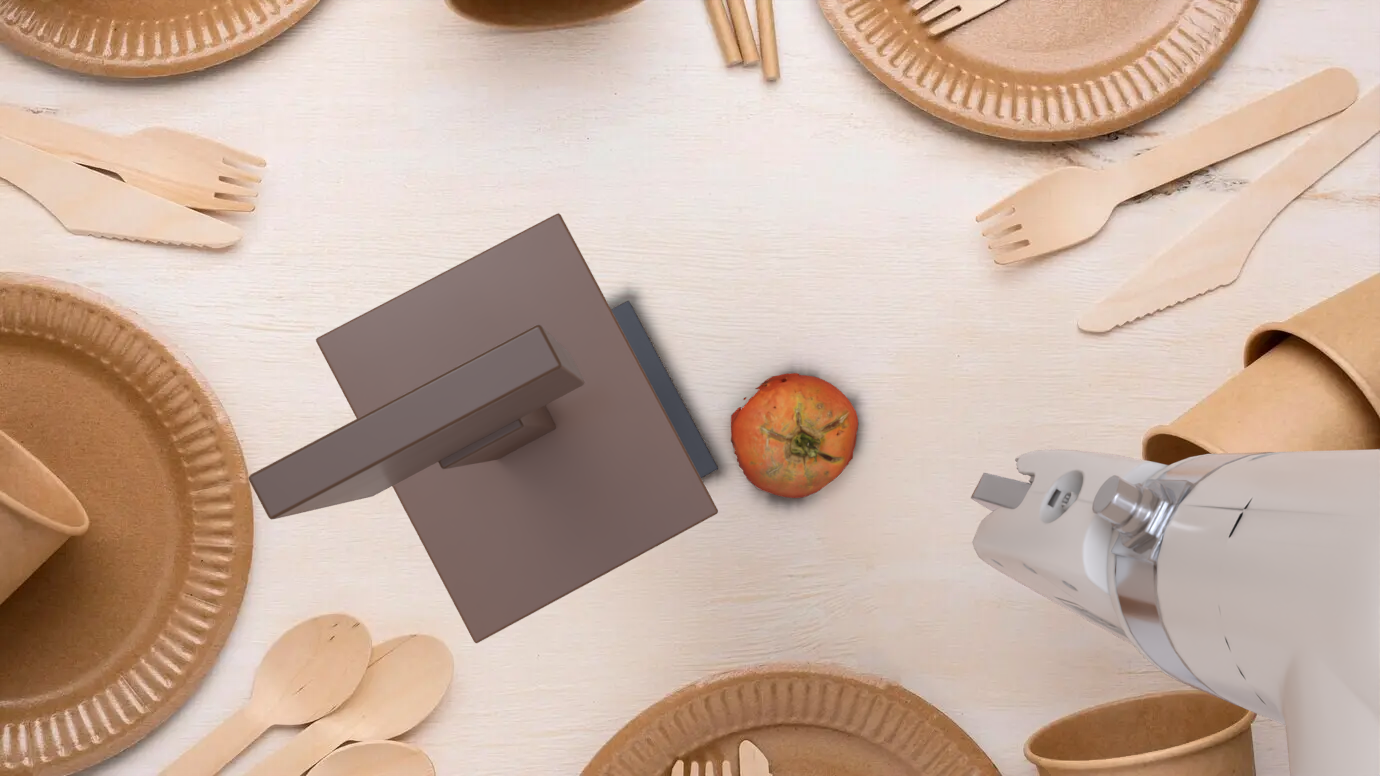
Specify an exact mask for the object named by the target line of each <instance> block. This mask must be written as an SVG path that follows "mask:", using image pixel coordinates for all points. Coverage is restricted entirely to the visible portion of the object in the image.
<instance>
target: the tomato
mask: <svg viewBox="0 0 1380 776" xmlns="http://www.w3.org/2000/svg"><path fill="white" fill-rule="evenodd" d="M755 390H757V391H756V392H755V393H754V394H753V395H752V396H751V397H750V398H749V399H748V400H747V401H746V403H745V405H744V406H740V407H738V408H737V409H736V410H734V412H733V413H732V414H731V415H730V435H731V436H730V442H731V445H732V448H733V449H734V452H733V453H734V455H735V456H736V461H737V463H738V467H739V468H740V469H741V470H742V473H743V475H744V476H745V478H746V480H748V481H749V483H751V484H752V485H753V486H754V487H755V488H757V489H759V490H761V491H762V492H765V493H767V494H768V493H769V494H771V495H775V496H778V497H782V498H788V499H801V498H802V499H803V498H807V497H809V496H811V495H814V494H816V493H818V492H820V491H821V490H822V489H823V488H825V487H826V486H828V484H830V483H831V482H833V481H834V480H835V479H836V478H838V476H840V475H841V474H843V473H842V472H843V471H844V470H845V469H846V468H847V466H848V465H849V464H850V462H851V461H852V460H853V459H854V451H855V449H856V445H857V434H858V430H859V417H858V413H857V411H856V409H855V408H854V405H853V404H852V402H851V401H850V399H849V398H848V397H847V396H846V395H845V394H844V392H842V391H841V390H840V389H839V388H837V387H836V386H835V385H834V384H833V383H830V382H828V381H827V380H825V379H822V378H820V377H817V376H814V375H808V374H807V375H806V374H800V373H798V372H793V373H792V372H791V373H782V374H779V375H772V376H771V377H769V378H767V379H766V380H764V381H763V382H762V383H761V384H760V385H759V386H757V387H755ZM746 399H747V396H745V397H743V401H745V400H746Z"/></svg>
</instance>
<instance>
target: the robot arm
mask: <svg viewBox="0 0 1380 776" xmlns="http://www.w3.org/2000/svg"><path fill="white" fill-rule="evenodd" d="M1014 462H1015V466H1016V470H1017V472H1018V473H1020V474H1021V475H1022V476H1029V477H1030V478H1029V480H1028V482H1026V481H1022V480H1018V479H1013V478H1009V477H1005V476H1000V475H996V474H992V473H988V472H983V473H982V475H981V477H980V479H979V481H978V483H977V484H976V486H975V488H974V490H973V492H972V493H971V496H970V499H971V500H972V501H974V502H976V503H977V504H979V505H981V506H982V507H984V508H985V509H987V510H989V511H990V513H988V514H987V515H986V516H985V517H983V518H982V519H981V520H980V522H979V524H978V526H977V528H976V531H975V534H974V536H973V538H972V542H971V543H972V547H973V550H974V552H975V554H976V555H977V557H978V559H980V560H981V561H982V562H984V563H985V564H987V565H988V566H990V567H991V568H993V569H995V570H997V571H998V572H1000V573H1001V574H1003V575H1004V576H1006V577H1008V578H1010V579H1012V580H1014V581H1015V582H1017V583H1018V584H1021V585H1022V586H1024V587H1026V588H1028V589H1029V590H1031V591H1033V592H1035V593H1037V594H1039V595H1040V596H1042V597H1044V598H1046V599H1047V600H1050V601H1051V602H1053V603H1055V604H1057V605H1058V606H1059V607H1062V608H1064V609H1065V610H1067V611H1069V612H1071V613H1072V614H1075V615H1076V616H1078V617H1080V618H1081V619H1083V620H1085V621H1087V622H1089V623H1091V624H1092V625H1094V626H1096V627H1099V628H1100V629H1102V630H1104V631H1106V632H1108V633H1109V634H1111V635H1113V636H1115V637H1116V638H1118V639H1121V640H1123V641H1124V642H1126V643H1128V644H1129V645H1132V646H1133V647H1134V648H1135V649H1136V650H1137V651H1138V653H1139V654H1140V655H1141V656H1142V657H1143V658H1145V660H1146V661H1147V662H1149V663H1150V664H1151V665H1152V666H1153V667H1155V668H1156V669H1157V670H1158V671H1160V672H1161V673H1162V674H1164V675H1166V676H1168V677H1169V678H1171V679H1173V680H1175V681H1177V682H1180V683H1181V684H1184V685H1187V686H1189V687H1191V688H1193V689H1196V690H1198V691H1200V692H1203V693H1206V694H1208V695H1210V696H1213V697H1215V698H1217V699H1220V700H1223V701H1225V702H1227V703H1229V704H1232V705H1234V706H1237V707H1240V708H1243V709H1245V710H1247V711H1250V712H1251V713H1254V714H1257V715H1259V716H1261V717H1263V718H1266V719H1267V720H1271V721H1274V722H1276V723H1278V724H1281V725H1282V726H1285V735H1286V736H1285V737H1286V747H1287V755H1288V757H1287V758H1288V768H1289V776H1380V448H1377V449H1376V448H1375V449H1371V448H1370V449H1340V450H1336V449H1335V450H1334V449H1333V450H1332V449H1331V450H1295V451H1293V450H1292V451H1290V450H1289V451H1259V452H1258V451H1256V452H1225V453H1224V452H1221V453H1206V454H1205V453H1204V454H1200V455H1194V456H1189V457H1186V458H1184V459H1181V460H1178V461H1176V462H1173V463H1171V464H1165V463H1160V462H1157V461H1150V460H1146V459H1140V458H1135V457H1131V456H1130V457H1129V456H1124V455H1117V454H1113V453H1105V452H1097V451H1091V450H1080V449H1079V450H1078V449H1063V448H1061V449H1060V448H1056V449H1055V448H1054V449H1052V448H1051V449H1049V448H1047V449H1046V448H1045V449H1037V450H1033V451H1028V452H1026V453H1023V454H1021V455H1019V456H1017V457H1015V459H1014Z"/></svg>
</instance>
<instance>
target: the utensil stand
mask: <svg viewBox="0 0 1380 776" xmlns="http://www.w3.org/2000/svg"><path fill="white" fill-rule="evenodd" d="M315 342H316V344H317V346H318V348H319V350H320V351H321V354H322V356H323V357H324V359H325V362H326V363H327V365H328V367H329V369H330V371H331V372H332V374H333V377H334V378H335V380H336V382H337V384H338V386H339V388H340V390H341V392H342V393H343V395H344V397H345V399H346V401H347V403H348V406H349V407H350V409H351V410H352V412H353V414H354V416H355V418H356V419H353V420H352V421H350V422H348V423H345V424H344V425H341V426H340V427H338V428H337V429H334V430H333V431H331V432H329V433H327V434H325V435H323V436H321V437H319V438H317V439H315V440H314V441H312V442H310V443H308V444H306V445H304V446H302V447H301V448H298V449H297V450H295V451H293V452H291V453H289V454H287V455H285V456H283V457H281V458H279V459H277V460H275V461H274V462H272V463H270V464H268V465H266V466H263V467H262V468H260V469H258V470H256V471H255V472H253V473H251V474H250V475H249V476H248V481H249V483H250V485H251V487H252V489H253V490H254V492H255V495H256V496H257V498H258V500H259V502H260V504H261V505H262V508H263V510H264V512H265V514H266V516H267V517H268V519H270V520H277V519H281V518H285V517H286V518H287V517H290V516H294V515H298V514H304V513H306V512H311V511H315V510H320V509H326V508H329V507H332V506H338V505H341V504H346V503H349V502H350V503H351V502H355V501H359V500H364V499H369V498H372V497H375V496H376V495H378V494H380V493H382V492H384V491H386V490H388V489H390V488H391V487H392V489H393V490H394V492H395V495H396V496H397V498H398V500H399V502H400V504H401V506H402V507H403V509H404V511H405V513H406V515H407V517H408V519H409V521H410V523H411V525H412V527H413V528H414V530H415V532H416V534H417V536H418V538H419V540H420V542H421V544H422V546H423V548H424V550H425V551H426V553H427V555H428V557H429V559H430V561H431V563H432V565H433V567H434V568H435V570H436V572H437V574H438V576H439V578H440V580H441V582H442V583H443V585H444V588H445V590H446V591H447V593H448V595H449V597H450V599H451V601H452V603H453V604H454V606H455V609H456V611H457V612H458V614H459V616H460V618H461V620H462V622H463V624H464V625H465V627H466V629H467V631H468V633H469V635H470V637H471V639H472V641H473V642H474V643H475V644H479V643H480V642H483V641H485V640H487V639H488V638H490V637H492V636H494V635H495V634H497V633H499V632H500V631H503V630H505V629H507V628H508V627H510V626H512V625H514V624H516V623H517V622H520V621H521V620H523V619H525V618H527V617H529V616H531V615H532V614H534V613H536V612H539V611H540V610H541V609H544V608H545V607H547V606H549V605H551V604H553V603H554V602H557V601H558V600H560V599H562V598H564V597H566V596H567V595H569V594H572V593H573V592H575V591H577V590H579V589H581V588H583V587H584V586H586V585H588V584H590V583H592V582H593V581H595V580H597V579H599V578H601V577H602V576H605V575H606V574H608V573H610V572H612V571H614V570H616V569H618V568H619V567H622V566H624V565H625V564H627V563H630V562H631V561H632V560H634V559H636V558H638V557H640V556H641V555H644V554H645V553H647V552H649V551H651V550H653V549H655V548H657V547H658V546H661V545H662V544H664V543H665V542H667V541H670V540H671V539H673V538H675V537H677V536H679V535H681V534H682V533H684V532H687V531H688V530H690V529H692V528H694V527H695V526H697V525H699V524H701V523H703V522H704V521H706V520H708V519H710V518H712V517H714V516H716V515H717V514H718V513H719V510H718V507H717V506H716V503H715V502H714V500H713V498H712V497H711V494H710V492H709V491H708V489H707V486H706V484H705V483H704V481H703V478H704V477H706V476H708V475H710V474H712V473H713V472H715V471H717V470H718V469H719V467H718V465H717V463H716V461H715V459H714V457H713V455H712V454H711V452H710V450H709V448H708V446H707V444H706V443H705V441H704V438H703V437H702V434H701V433H700V431H699V429H698V427H697V426H696V423H695V421H694V419H693V418H692V416H691V414H690V412H689V411H688V408H687V407H686V405H685V403H684V401H683V400H682V397H681V395H680V394H679V392H678V390H677V388H676V386H675V385H674V381H672V379H671V377H670V375H669V373H668V371H667V369H666V367H665V366H664V365H665V364H664V363H663V362H662V359H661V358H660V356H659V354H658V352H657V350H656V348H655V347H654V344H653V343H652V341H651V339H650V337H649V336H648V333H647V331H646V330H645V328H644V326H643V324H642V322H641V320H640V318H639V316H638V315H637V313H636V311H635V309H634V307H633V306H632V303H631V302H630V300H626V301H624V302H622V303H620V304H618V305H617V306H614V307H613V308H611V306H610V304H609V303H608V300H607V299H606V297H605V295H604V293H603V292H602V290H601V288H600V286H599V284H598V282H597V280H596V278H595V276H594V274H593V273H592V270H591V268H590V267H589V265H588V264H587V262H586V260H585V258H584V256H583V254H582V252H581V250H580V248H579V246H578V244H577V242H576V241H575V239H574V237H573V235H572V233H571V231H570V229H569V228H568V226H567V223H566V222H565V220H564V218H563V216H562V214H560V213H559V212H558V213H555V214H553V215H551V216H549V217H548V218H545V219H544V220H542V221H540V222H538V223H536V224H534V225H532V226H529V227H528V228H526V229H525V230H522V231H520V232H519V233H517V234H515V235H513V236H511V237H509V238H507V239H504V240H503V241H501V242H499V243H498V244H495V245H493V246H491V247H490V248H488V249H486V250H483V251H482V252H480V253H478V254H476V255H474V256H473V257H470V258H468V259H467V260H466V259H465V260H464V261H463V262H460V263H459V264H457V265H455V266H452V267H451V268H449V269H447V270H445V271H443V272H441V273H440V274H438V275H436V276H434V277H432V278H429V279H428V280H426V281H424V282H421V283H420V284H418V285H416V286H414V287H412V288H411V289H409V290H406V291H404V292H403V293H401V294H399V295H397V296H395V297H392V298H391V299H390V300H388V301H386V302H384V303H382V304H380V305H377V306H376V307H374V308H372V309H369V310H368V311H366V312H363V313H362V314H359V316H356V317H355V318H353V319H351V320H348V321H347V322H345V323H342V324H341V325H339V326H336V327H335V328H333V329H331V330H330V331H328V332H325V333H324V334H322V335H319V336H318V337H316V339H315Z"/></svg>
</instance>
